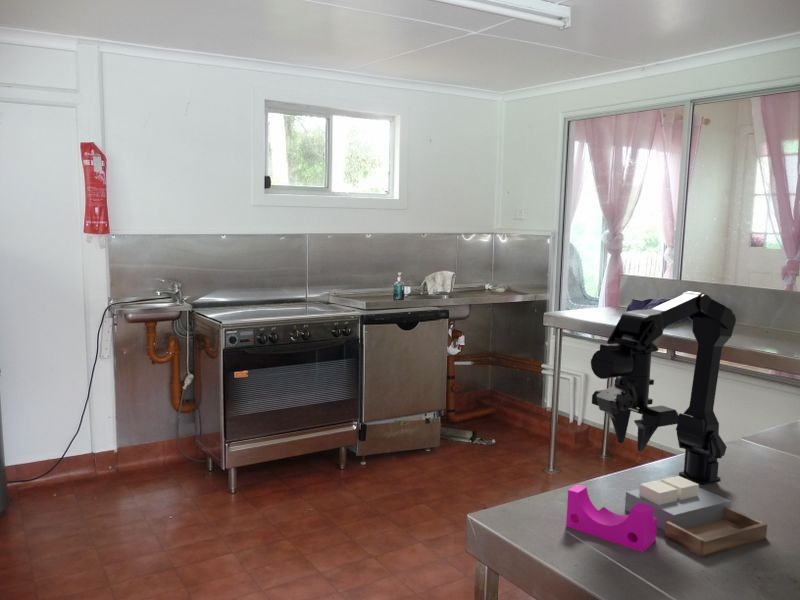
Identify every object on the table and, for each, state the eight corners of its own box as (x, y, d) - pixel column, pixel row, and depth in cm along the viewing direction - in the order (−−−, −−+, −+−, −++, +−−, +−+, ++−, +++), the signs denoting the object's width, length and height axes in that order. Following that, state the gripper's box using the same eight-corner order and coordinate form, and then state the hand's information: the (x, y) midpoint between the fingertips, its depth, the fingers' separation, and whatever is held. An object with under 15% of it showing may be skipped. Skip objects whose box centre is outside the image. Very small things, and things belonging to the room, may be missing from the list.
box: (664, 537, 127) (665, 522, 127) (725, 521, 135) (727, 506, 135) (703, 558, 120) (704, 541, 119) (765, 539, 127) (767, 524, 127)
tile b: (660, 490, 139) (661, 479, 139) (677, 486, 142) (678, 475, 141) (680, 499, 135) (681, 488, 135) (697, 495, 137) (698, 484, 137)
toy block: (655, 541, 126) (658, 502, 125) (642, 553, 122) (645, 513, 121) (580, 516, 136) (582, 480, 135) (566, 527, 131) (568, 489, 130)
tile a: (639, 495, 137) (639, 484, 136) (656, 491, 139) (657, 480, 139) (658, 504, 132) (659, 493, 132) (676, 500, 135) (677, 489, 134)
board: (624, 510, 139) (626, 491, 138) (680, 497, 146) (681, 479, 146) (672, 535, 128) (673, 515, 128) (729, 520, 136) (730, 500, 135)
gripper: (574, 367, 144) (570, 438, 146) (641, 387, 128) (636, 467, 130) (613, 363, 149) (609, 432, 151) (682, 382, 133) (677, 459, 135)
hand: (630, 446), depth 142 cm, fingers open, 5 cm apart
